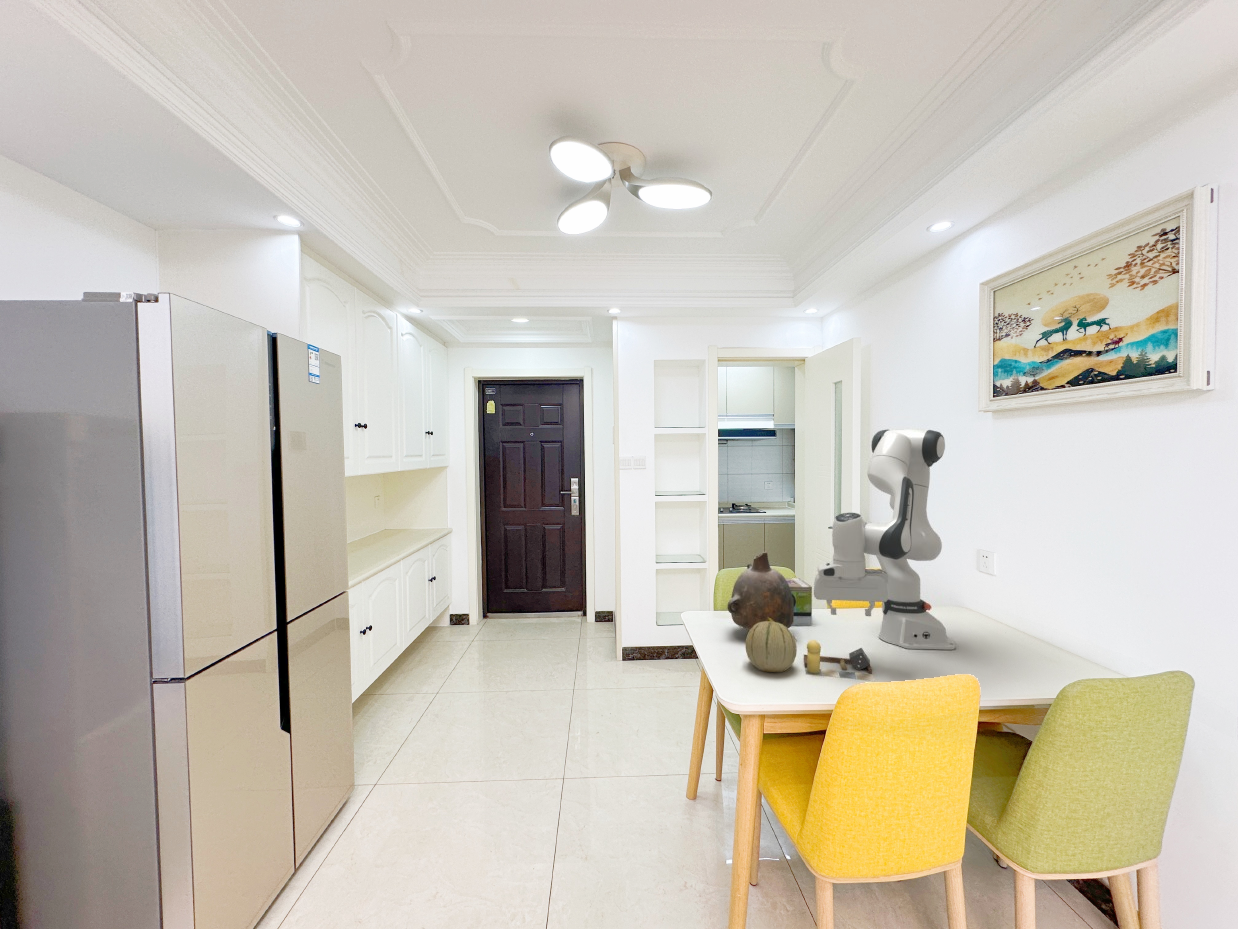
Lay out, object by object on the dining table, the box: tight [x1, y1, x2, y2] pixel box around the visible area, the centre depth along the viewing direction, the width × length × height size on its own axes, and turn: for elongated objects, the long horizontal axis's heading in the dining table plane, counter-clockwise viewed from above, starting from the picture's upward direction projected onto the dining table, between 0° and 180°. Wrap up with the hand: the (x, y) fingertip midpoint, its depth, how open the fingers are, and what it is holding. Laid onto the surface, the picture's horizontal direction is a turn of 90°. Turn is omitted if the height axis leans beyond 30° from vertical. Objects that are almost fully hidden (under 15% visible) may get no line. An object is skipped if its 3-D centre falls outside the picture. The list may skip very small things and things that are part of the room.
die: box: [848, 647, 871, 671], centre depth 156 cm, size 4×4×4 cm
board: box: [803, 654, 875, 682], centre depth 156 cm, size 18×12×2 cm, turn 73°
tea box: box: [784, 577, 813, 626], centre depth 207 cm, size 15×10×15 cm, turn 179°
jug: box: [726, 551, 796, 631], centre depth 188 cm, size 24×21×30 cm
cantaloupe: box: [745, 618, 798, 673], centre depth 158 cm, size 15×15×15 cm
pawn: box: [806, 640, 822, 674], centre depth 154 cm, size 4×4×9 cm
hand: (850, 615), depth 159 cm, fingers open, 8 cm apart
